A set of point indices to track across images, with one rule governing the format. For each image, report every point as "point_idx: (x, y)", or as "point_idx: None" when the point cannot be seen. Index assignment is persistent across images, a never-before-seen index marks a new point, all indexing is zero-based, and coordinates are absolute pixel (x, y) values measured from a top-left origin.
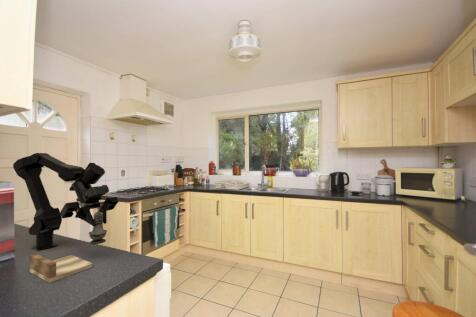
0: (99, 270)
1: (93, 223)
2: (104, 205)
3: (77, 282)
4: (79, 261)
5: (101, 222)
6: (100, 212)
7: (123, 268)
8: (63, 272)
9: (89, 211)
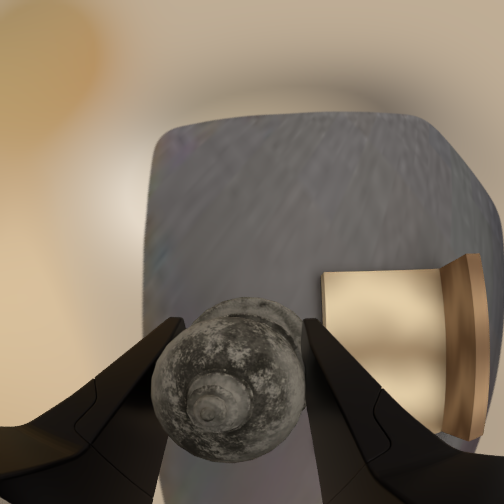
0: (319, 222)
1: (327, 330)
2: (1, 458)
3: (395, 203)
4: (346, 344)
5: (234, 315)
6: (203, 349)
7: (260, 167)
8: (419, 281)
9: (388, 473)
